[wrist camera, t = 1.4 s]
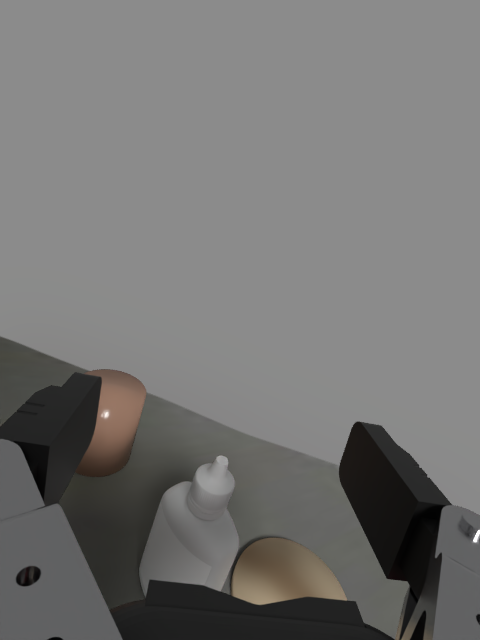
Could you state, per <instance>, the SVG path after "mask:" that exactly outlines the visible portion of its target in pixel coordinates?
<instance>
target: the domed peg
mask: <svg viewBox="0 0 480 640" xmlns="http://www.w3.org/2000/svg"><path fill="white" fill-rule="evenodd" d="M84 374H88V375H94V376H100V377H101V378H102V386H101V393H100V400H99V407H98V414H97V421H96V426H95V431H94V435H93V438H92V441H91V443H90V445H89V447H88V449H87V451H86V453H85V455H84V456H83V458H82V460H81V462H80V464H79V466H78V467H77V469H76V471H75V472H76V473H78V474H80V475H84V476H89V477H102V476H107V475H111V474H113V473H116V472H117V471H119V470H121V469H122V468H123V467H124V466H125V465H126V464H127V462H128V460H129V458H130V455H131V451H132V447H133V443H134V439H135V435H136V432H137V428H138V424H139V420H140V416H141V413H142V409H143V405H144V401H145V397H146V389H145V387H144V385H143V384H142V383H141V382H140V381H139V380H138V379H137V378H135V377H133V376H131V375H130V374H127V373H124V372H121V371H117V370H108V369H101V370H93V371H89V372H86V373H84Z"/></svg>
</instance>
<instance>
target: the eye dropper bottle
mask: <svg viewBox="0 0 480 640" xmlns="http://www.w3.org/2000/svg"><path fill="white" fill-rule="evenodd" d="M227 467H228V459H227V458H226V457H225V456H218V457H217V458H216V460H215V461H214V463H207V464H203V465H201V466H200V467H199V468H198V469H197V470H196V472H195V475H194V478H193V481H192V482H189V481H185V482H181V483H178V484H176V485H174V486H173V487H171V488H169V489H168V490H167V491H166V492H165V493H164V494H163V496H162V498H161V501H160V504H159V507H158V509H157V513H156V516H155V519H154V522H153V525H152V528H151V531H150V534H149V537H148V540H147V543H146V547H145V550H144V553H143V556H142V559H141V562H140V566H139V577H140V582H141V587H142V590H143V593H144V596H145V598H146V594H147V589H148V584H149V579H150V580H160V581H169V582H178V583H187V584H197V585H204V586H207V587H209V588H212V589H215V590H217V591H221V589H222V587H223V585H224V582H225V580H226V578H227V576H228V573H229V571H230V569H231V566H232V564H233V562H234V559H235V557H236V555H237V552H238V549H239V537H238V533H237V530H236V527H235V525H234V522H233V520H232V517H231V515H230V513H229V511H228V510H227V505H228V503H229V500H230V498H231V495H232V493H233V490H234V488H235V480H234V477H233V475H232V474H231V473H230V471H229V470H228V469H227Z"/></svg>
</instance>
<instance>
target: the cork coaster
mask: <svg viewBox="0 0 480 640" xmlns="http://www.w3.org/2000/svg"><path fill="white" fill-rule="evenodd" d="M231 596H234V597H236V598H239V599H242V600H245V601H247V602H250V603H253V604H257V605H263V604H269V603H274V602H280V601H285V600H291V599H296V598H302V597H307V596H308V597H318V598H327V599H336V600H346V601H347V599H346V596H345V594H344V591H343V589H342V587H341V585H340V583H339V582H338V580H337V579H336V577H335V575H334V574H333V573H332V571H331V570H330V569H329V568H328V566H327V565H326V564H325V563H324V562H323V561H322V560H321V559H320V558H319V557H318V556H317V555H315V554H314V553H313V552H312V551H310V550H309V549H307V548H306V547H304V546H302V545H300V544H298V543H296V542H293V541H291V540H287V539H283V538H265V539H261V540H259V541H256V542H254V543H253V544H251V545H250V546H248V547H247V548H246V549H245V550H244V552H243V553H242V554H241V556H240V558H239V559H238V561H237V564H236V566H235V569H234V571H233V575H232V580H231Z"/></svg>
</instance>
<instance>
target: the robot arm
mask: <svg viewBox="0 0 480 640" xmlns="http://www.w3.org/2000/svg"><path fill="white" fill-rule="evenodd" d="M101 386H102V378H101V377H100V376H94V375H88V374H82V373H77V372H75V373H74V374H73V375H72V376H71V377H70V378H69V379H68V380H67V381H66V383H65V384H64V385H63V386H62V387H58V386H52V385H51V386H49V387H47V388H44V389H42V390H40V391H38V392H35V393H34V394H33V395H32V396H31V397H30V398H29V399H28V400H27V401H26V403H25V404H23V405H22V406H21V407H20V408H19V409H18V410H17V413H16V412H15V413H14V414H13V415H12V416H11V417H10V418H9V419H8V420H7V421H6V422H5V423H4V424H3V425H2V426H1V427H0V640H480V515H478V514H476V513H474V512H472V511H470V510H468V509H465V508H462V507H459V506H454V505H452V504H451V503H450V502H449V501H448V500H447V498H446V497H445V496H444V495H443V493H442V492H441V491H440V490H439V489H438V487H437V486H436V485H435V484H434V483H433V482H432V481H431V479H430V478H427V474H426V473H425V472H424V471H423V470H422V468H419V465H418V464H417V462H416V461H415V460H414V459H413V458H412V456H411V455H410V454H409V453H407V452H406V451H404V450H403V449H402V448H401V447H400V446H398V445H397V444H396V443H395V442H394V441H393V439H392V438H391V437H390V436H389V434H388V433H387V432H386V431H385V429H384V428H383V427H382V426H380V425H374V424H369V423H364V422H356V423H355V424H354V425H353V427H352V429H351V432H350V435H349V438H348V441H347V444H346V447H345V450H344V453H343V456H342V459H341V463H340V467H339V478H340V482H341V485H342V487H343V489H344V491H345V493H346V495H347V497H348V499H349V501H350V503H351V506H352V508H353V510H354V512H355V514H356V516H357V518H358V520H359V522H360V524H361V526H362V528H363V530H364V532H365V534H366V537H367V539H368V541H369V543H370V545H371V547H372V549H373V551H374V553H375V555H376V557H377V559H378V561H379V563H380V565H381V567H382V570H383V572H384V574H385V576H386V578H387V579H393V580H401V581H408V583H409V585H410V586H409V588H408V590H407V593H406V595H405V598H404V602H403V607H402V611H401V616H400V621H399V625H398V630H397V634H396V639H393V638H392V637H390V636H388V635H387V634H385V633H383V632H382V631H380V630H378V629H376V628H374V627H372V626H370V625H368V624H365V623H364V622H363V620H362V617H361V614H360V612H359V609H358V606H357V604H356V602H355V601H346V600H336V599H327V598H318V597H308V596H307V597H302V598H296V599H291V600H285V601H280V602H274V603H269V604H263V605H257V604H253V603H250V602H247V601H245V600H242V599H239V598H236V597H234V596H231V595H228V594H226V593H223V592H220V591H217V590H215V589H212V588H209V587H207V586H204V585H197V584H187V583H178V582H169V581H160V580H150V579H149V584H148V589H147V594H146V599H145V600H139V601H134V602H130V603H127V604H124V605H120V606H118V607H116V608H114V609H111V610H109V609H108V607H107V605H106V602H105V600H104V598H103V596H102V594H101V592H100V589H99V587H98V585H97V583H96V581H95V579H94V576H93V574H92V572H91V570H90V568H89V566H88V563H87V561H86V559H85V557H84V555H83V553H82V551H81V548H80V546H79V544H78V542H77V540H76V538H75V535H74V533H73V531H72V529H71V527H70V525H69V522H68V520H67V518H66V516H65V514H64V512H63V510H62V508H61V506H60V505H59V504H58V502H59V500H60V499H61V497H62V495H63V493H64V491H65V489H66V488H67V486H68V484H69V482H70V480H71V478H72V477H73V475H74V473H75V471H76V469H77V467H78V466H79V464H80V462H81V460H82V458H83V456H84V455H85V453H86V451H87V449H88V447H89V445H90V443H91V441H92V438H93V435H94V431H95V426H96V421H97V414H98V407H99V400H100V393H101Z"/></svg>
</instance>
